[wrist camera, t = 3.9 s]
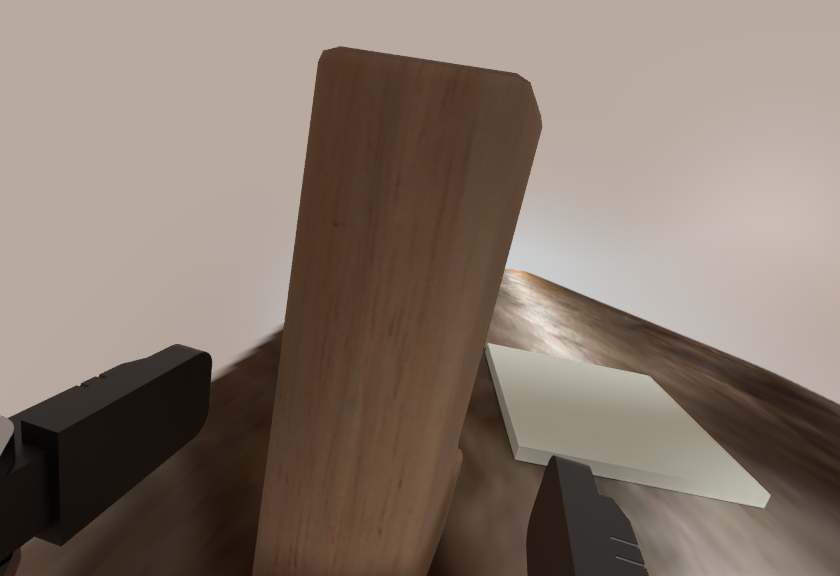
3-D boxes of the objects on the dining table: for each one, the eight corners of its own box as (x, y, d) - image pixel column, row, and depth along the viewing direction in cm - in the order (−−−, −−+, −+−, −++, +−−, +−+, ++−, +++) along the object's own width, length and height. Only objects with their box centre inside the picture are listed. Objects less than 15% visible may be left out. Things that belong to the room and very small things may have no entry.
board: (645, 385, 43) (649, 375, 43) (764, 508, 28) (770, 495, 27) (485, 352, 43) (487, 343, 42) (514, 459, 27) (518, 445, 27)
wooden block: (359, 491, 22) (435, 112, 17) (444, 527, 21) (552, 133, 16) (233, 674, 14) (312, 37, 9) (364, 750, 13) (537, 71, 8)
